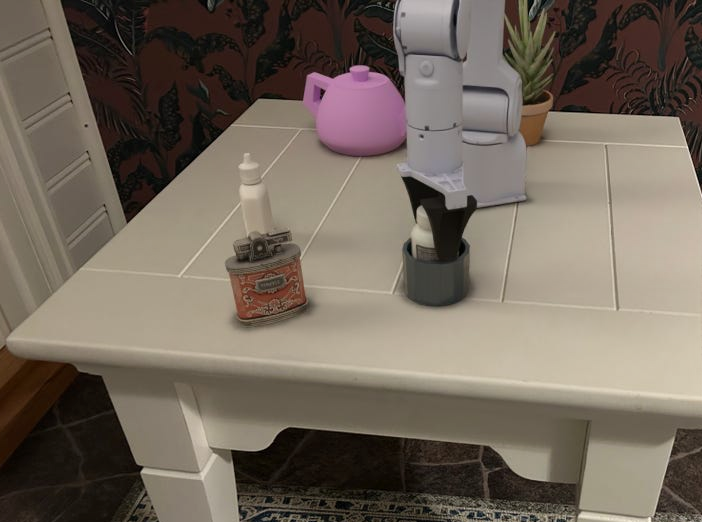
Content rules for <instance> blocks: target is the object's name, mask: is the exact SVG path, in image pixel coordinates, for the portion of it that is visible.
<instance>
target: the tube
mask: <svg viewBox="0 0 702 522" xmlns="http://www.w3.org/2000/svg"><path fill="white" fill-rule="evenodd" d="M401 250H402V251H401V252H402V273H403V275H402V276H403V289H404V293H405V295H406V297H407V298H408V299H410V300H411V301H412V302H414V303H416V304H419V305H423V306H426V307H446V306H450V305H451V306H452V305H455V304H456V303H459V302H460V301H462V300H463V299H465V298H466V297H467V296H468V294H469V292H470V273H471V271H470V270H471V267H470V266H471V245H470V244H469V242H468V241H467V239H466V238H464V237H462V239H461V243H460V247H459V257H458V258H456V259H454V260H451V261H446V262H440V263H439V262H425V261H421V260H417V259H416V258H414V257H412V248H411V237H409V238H408V239H407V240H406V241H405V242H404V243H403V244H402V249H401Z"/></svg>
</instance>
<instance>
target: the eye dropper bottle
mask: <svg viewBox="0 0 702 522" xmlns="http://www.w3.org/2000/svg"><path fill="white" fill-rule="evenodd" d="M238 171H239V177H240V182H241V184H240V186H239V190H238V196H239V201H240V208H241V213H242V217H243V223H244V228H245V233H246V238H247V237H248V235H249V233H251V232H254V231H257V232H259V233H260V234H265V233H267V232H268V231H272V230H275V224H274V219H273V218H274V217H273V212H272V207H271V206H272V205H271V201H270V196H269V194H270V193H269V189H268V186H267V183H266V182H265V181H264V180H263V179H262V174H261V169H260V164H259V162H256V161H253V159H252V156H251V154H250V153H249V152H247V153H246V152H245V153H243V162H242V163H240V164H239V165H238Z"/></svg>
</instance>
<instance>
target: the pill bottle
mask: <svg viewBox="0 0 702 522" xmlns="http://www.w3.org/2000/svg"><path fill="white" fill-rule="evenodd" d="M416 220H417V224H415V225H414V226H413V228H412V229H411V230H410V231H411V232H410V238H411V248H412V257H414V258H416V259H417V260H421V261H425V262H439V263H440V262H446V261H451V260H454V259H456V258H458V257H459V250H458V254H457V256H456V257H453V258H447V259H441V260H440V259H439V258H438V257H437V254H436V251H435V247H434V241H433V235H432V229H431V225H430V222H429V219H428V216H427V214H426V212H425V210H424V208H423V206H422V205H421V206H420V207H418V209H417V218H416Z"/></svg>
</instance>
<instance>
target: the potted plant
mask: <svg viewBox="0 0 702 522" xmlns="http://www.w3.org/2000/svg"><path fill="white" fill-rule="evenodd" d="M547 15H548V12H545V7H543V8H542V11H541V14H540V17H539V20H538V22H537V25H536V27H535V30H534V33H532V31H531V19H530V16H529V13H528V0H518V16H519V23H520V32H521V35H520V33H519V30H518V28H517V24H514V28H513V26H512V24H511V22H510V19H509V18H508V16H507V14H506V13H505V12H504V21H505V24H506V26H507V29H508V32H509V34H510V38H511V40H512V41H511V40H510V39H509V38H508V39H507V41H508V45H509V49H510V51H511V54H512V56H513V58H512V57H511V56H510V55H508V53H507V52H506V51H505V52H504V54H503V53H502V59H503V60H504V61H505V62H506V63H507V64H508V65H510V66H511V67H512V68H513V69H514V70H515V71H516V72H518V74H519V75H520V76H521V80H522V115H521V122H520V127H519V130H518V131H519V132H520V133H521V134H522V136H523V138H524V141H525V144H526V147H529V146H533V145H534V146H535V145H536V144H538V143H539V142H540V140H541V136H542V133H543V129H544V126H545V123H546V120H547V117H548V114H549V112H550V110H551V109H552V108H553V102H554V95H553V94H552V93H551V92H550V91H549V90H548V91H547V90H545V89H544V88H545V87H546V86H547V85H549V83H551V81H553V78H552V76H554V73H551V74H549V75H548V76H547V77H545V78H544V79H542V77H543V76H544V74H545V73H546V71H547V70H548V68H549V67H550V65H551V64H552V62H553V60H554V58H551V56H552V54H553V53H554V49H555V46H552V48H551V49H550V46H551V44H552V42H553V40H554V37H555V35H556V31H555V30H554V31H553V33H552V34H551V36H550V37H549V39H548V41H547V43H546V44H545V45H544V47H542V42H543V36H544V34H545V30H546V25H547V19H548V18H547ZM512 42H513V43H512ZM541 47H542V48H541ZM549 49H550V51H549ZM548 51H549V53H548V55H547V56H546V54H547V52H548ZM545 56H546V58H545ZM544 58H545V59H544ZM543 60H544V61H543ZM541 79H542V80H541Z"/></svg>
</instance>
